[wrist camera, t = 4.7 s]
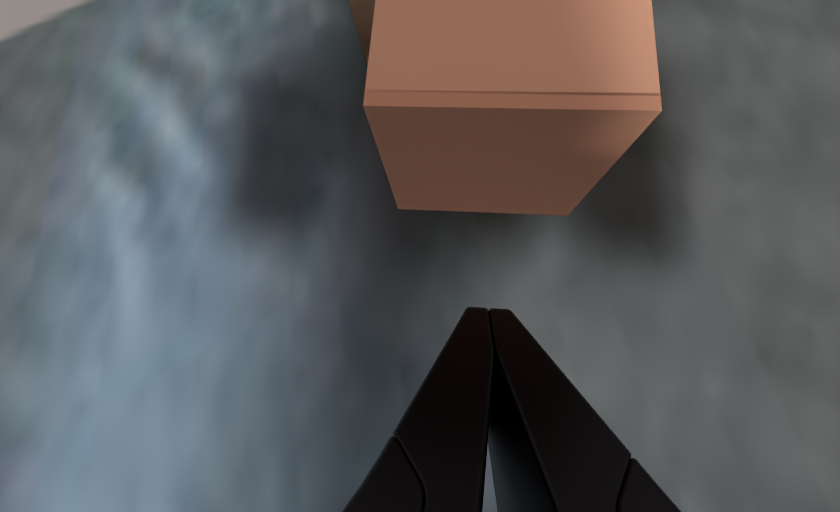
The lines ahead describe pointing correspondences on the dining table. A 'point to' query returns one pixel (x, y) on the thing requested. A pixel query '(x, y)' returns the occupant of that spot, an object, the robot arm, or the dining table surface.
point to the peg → (507, 99)
